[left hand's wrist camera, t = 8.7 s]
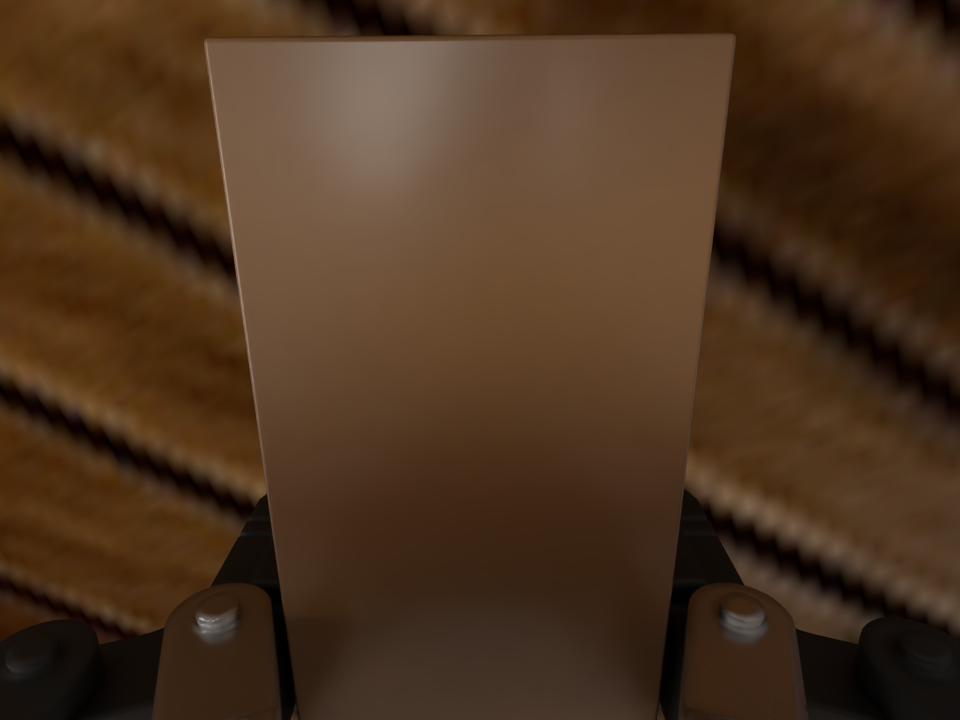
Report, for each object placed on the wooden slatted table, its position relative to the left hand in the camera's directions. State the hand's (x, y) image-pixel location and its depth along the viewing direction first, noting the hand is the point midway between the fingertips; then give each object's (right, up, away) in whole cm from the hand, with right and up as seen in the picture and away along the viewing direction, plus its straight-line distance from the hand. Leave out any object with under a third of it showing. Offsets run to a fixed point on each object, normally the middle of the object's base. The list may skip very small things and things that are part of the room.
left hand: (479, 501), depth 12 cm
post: (0, -18, +9) cm, 20 cm away
